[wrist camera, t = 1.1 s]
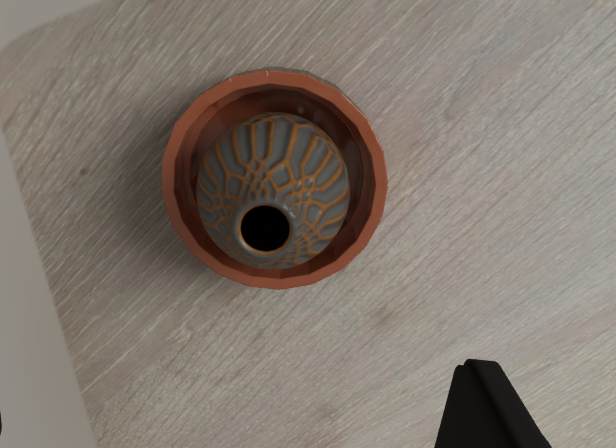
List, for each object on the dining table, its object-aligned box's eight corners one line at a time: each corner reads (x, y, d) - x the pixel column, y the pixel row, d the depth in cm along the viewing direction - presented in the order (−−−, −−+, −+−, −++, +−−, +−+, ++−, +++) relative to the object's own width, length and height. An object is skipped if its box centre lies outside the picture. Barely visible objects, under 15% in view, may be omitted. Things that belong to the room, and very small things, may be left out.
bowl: (186, 54, 25) (164, 56, 21) (391, 80, 25) (406, 87, 21) (179, 245, 28) (159, 276, 24) (359, 266, 29) (367, 299, 25)
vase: (277, 74, 24) (261, 90, 16) (371, 171, 26) (400, 231, 18) (185, 170, 26) (128, 229, 18) (279, 255, 28) (267, 346, 19)
